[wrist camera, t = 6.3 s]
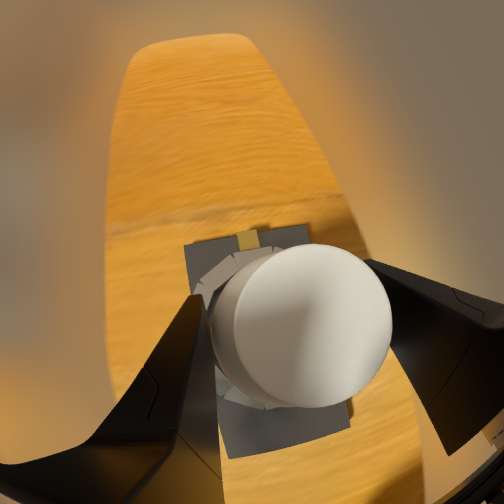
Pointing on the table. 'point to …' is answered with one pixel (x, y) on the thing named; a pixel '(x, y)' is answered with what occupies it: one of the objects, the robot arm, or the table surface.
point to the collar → (214, 284)
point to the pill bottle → (302, 327)
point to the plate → (264, 421)
